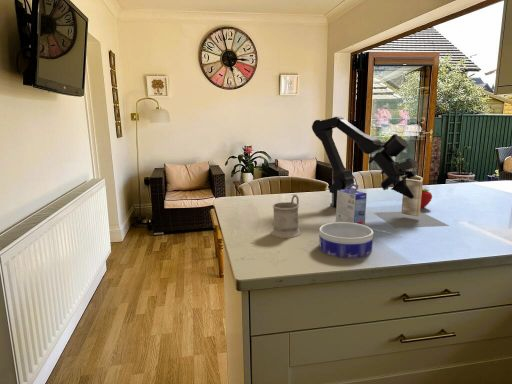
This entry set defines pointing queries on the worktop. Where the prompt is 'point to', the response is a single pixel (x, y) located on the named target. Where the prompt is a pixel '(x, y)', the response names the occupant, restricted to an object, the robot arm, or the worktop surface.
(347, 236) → the dog bowl
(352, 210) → the ink cartridge box
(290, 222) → the mug
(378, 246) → the worktop surface
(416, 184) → the board
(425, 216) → the mat
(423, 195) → the strawberry
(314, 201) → the worktop surface
